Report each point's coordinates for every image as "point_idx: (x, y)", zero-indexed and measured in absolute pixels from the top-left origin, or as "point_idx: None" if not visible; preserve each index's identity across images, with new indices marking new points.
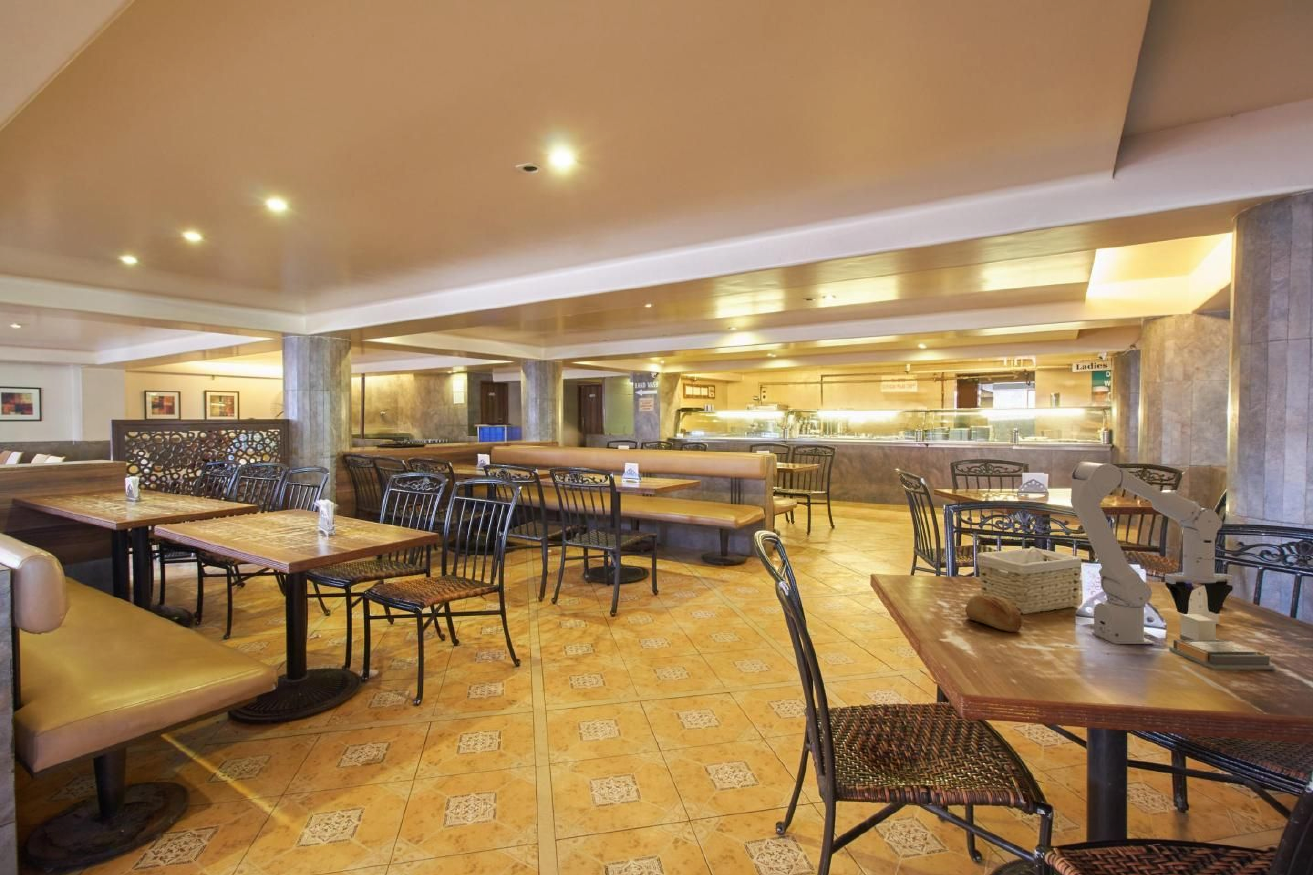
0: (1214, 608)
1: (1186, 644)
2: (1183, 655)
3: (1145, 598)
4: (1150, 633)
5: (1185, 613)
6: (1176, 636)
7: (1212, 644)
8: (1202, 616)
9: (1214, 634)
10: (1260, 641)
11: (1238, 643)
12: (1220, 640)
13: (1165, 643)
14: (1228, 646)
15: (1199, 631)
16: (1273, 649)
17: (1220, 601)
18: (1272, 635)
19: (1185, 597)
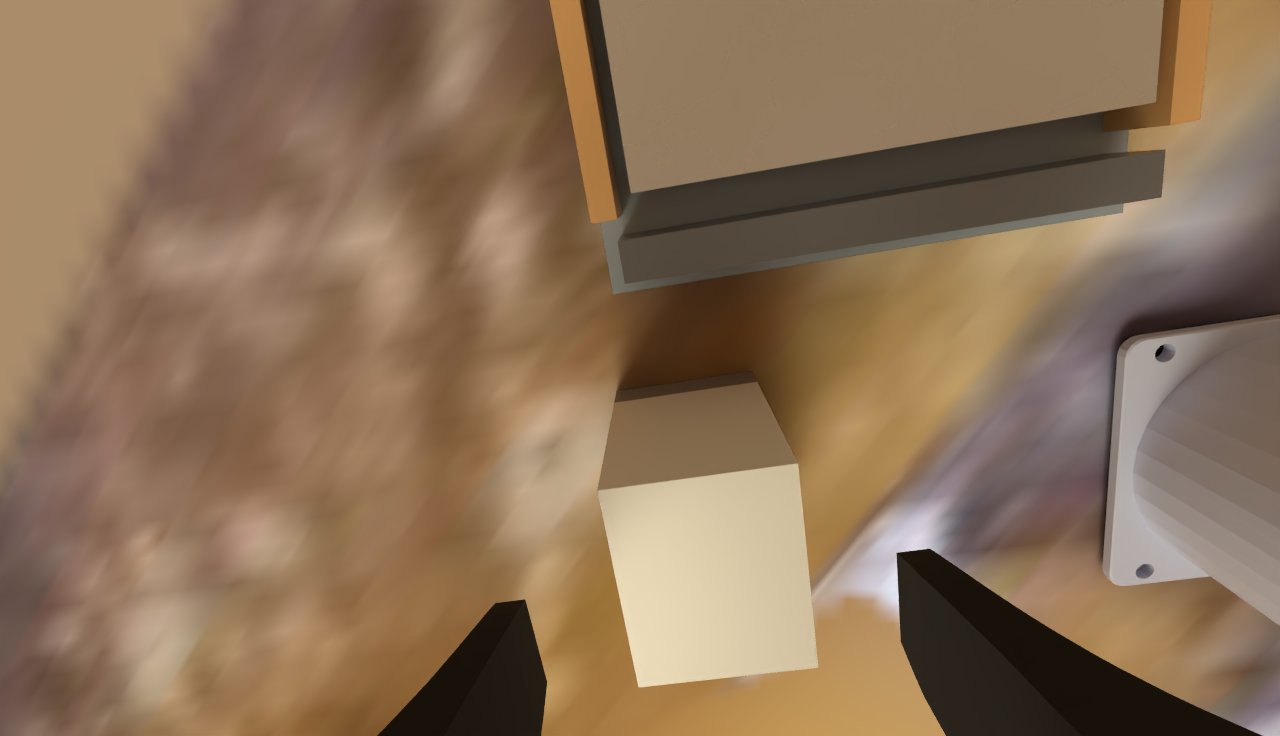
0: (519, 666)
1: (1186, 20)
2: None
3: None
4: None
5: (926, 552)
6: None
7: (902, 57)
8: (636, 617)
9: (619, 424)
10: (228, 524)
11: (592, 156)
12: (686, 255)
13: (988, 381)
14: (780, 8)
15: (765, 414)
16: (234, 364)
17: (441, 720)
18: (82, 651)
19: (1159, 701)
